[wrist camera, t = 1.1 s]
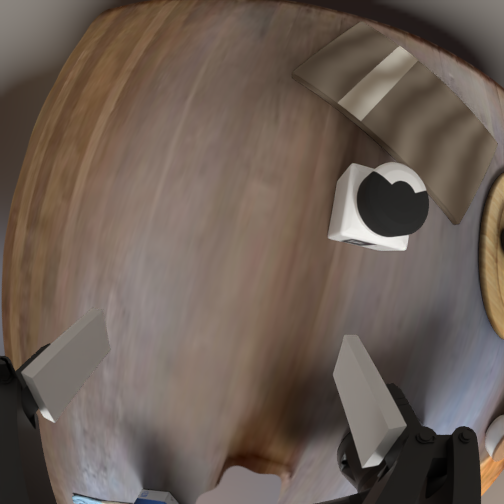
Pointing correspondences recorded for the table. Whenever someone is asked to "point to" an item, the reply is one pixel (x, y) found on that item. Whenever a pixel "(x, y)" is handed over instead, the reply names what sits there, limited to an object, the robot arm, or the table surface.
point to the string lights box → (155, 497)
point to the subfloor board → (404, 113)
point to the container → (378, 206)
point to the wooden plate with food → (493, 256)
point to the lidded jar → (495, 439)
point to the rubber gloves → (91, 500)
